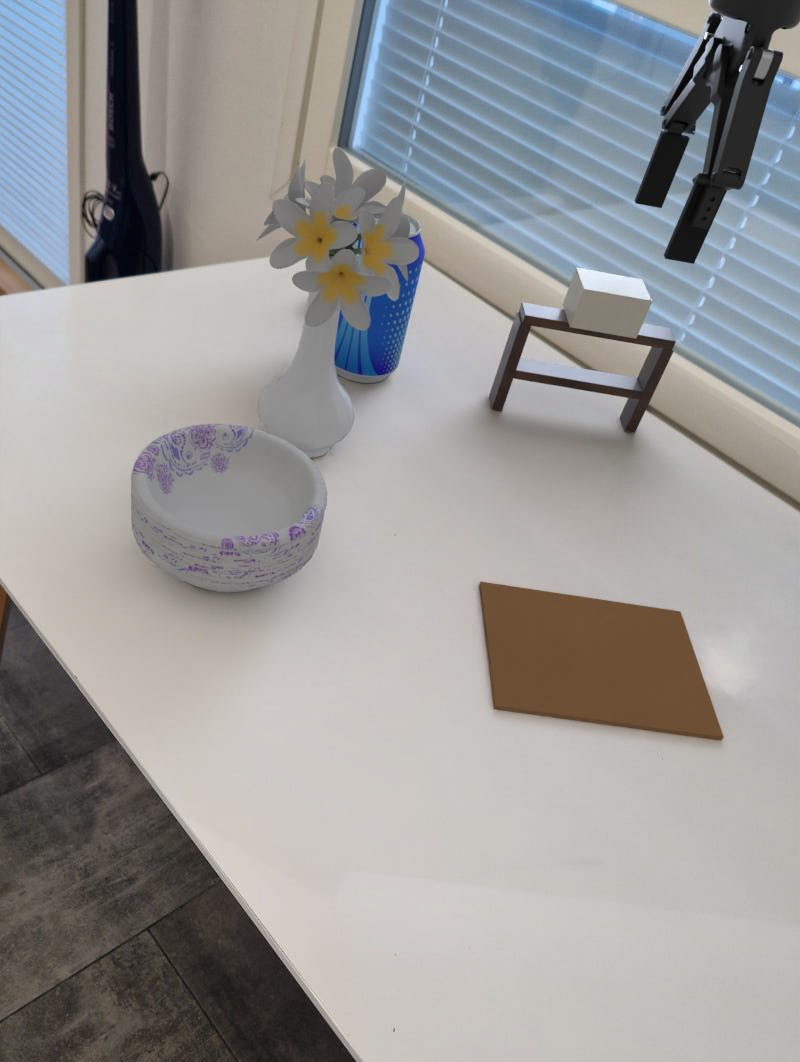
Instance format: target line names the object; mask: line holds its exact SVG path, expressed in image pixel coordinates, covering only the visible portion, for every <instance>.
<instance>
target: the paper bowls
mask: <svg viewBox="0 0 800 1062" xmlns="http://www.w3.org/2000/svg"><path fill="white" fill-rule="evenodd" d="M131 470H132V471H131V476H130V489H131V490H130V492H131V493H130V525H131V530H132V535H133V538H134V541H135V542H136V544H137V546H138V548H139V550H141V552H142V553H143V555H144V556H145V557H146V558H147V559H148V560H149V561H151V563H152V564H153V565H155V566H156V567H157V568H158V569H160V570H161V571H163V572H164V573H166V574H168V575H169V576H171V577H173V578H175V579H176V580H178V581H182V582H185V583H188V584H190V585H192V586H194V587H197V588H201V589H203V590H207V591H212V592H218V593H241V592H246V591H250V590H254V589H257V588H262V587H263V588H264V587H267V586H271V585H275V584H277V583H280V582H281V581H284V580H286V579H288V578H290V577H292V576H293V575H295V574H297V573H298V572H299V571H301V570H302V569H303V567H305V566H306V565H307V564H308V563H309V561H310V560H311V559H312V558H313V556H314V554H315V552H316V550H317V548H318V546H319V541H320V536H321V534H322V533H321V532H322V528H323V522H324V518H325V512H326V510H327V505H328V489H327V485H326V481H325V479H324V477H323V474H322V472H321V470H320V469H319V468H318V467H317V465H316V463H315V462H314V461H313V460H312V458H309V457H308V456H307V455H306V454H305V453H303V452H302V451H301V450H300V449H298V448H297V447H295V446H294V445H292V444H291V443H289V442H287V441H285V440H283V439H281V438H279V437H277V436H275V435H272V434H270V433H269V432H268V431H265V430H260V429H258V428H254V427H249V426H243V425H238V424H230V423H229V424H227V423H206V424H205V423H204V424H195V425H190V426H186V427H181V428H178V429H175V430H172V431H170V432H167V433H165V434H162V435H161V436H159V437H157V438H155V439H154V440H152V441H151V442H150V443H149V444H148V445H147V446H145V448H143V450H142V451H141V453H140V454H139V455H138V456H137V457H136V459H135V462H134V464H133V468H132V469H131Z"/></svg>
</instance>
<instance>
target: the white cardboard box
mask: <svg viewBox="0 0 800 1062" xmlns="http://www.w3.org/2000/svg"><path fill="white" fill-rule="evenodd" d="M646 286H647V285H646V284H645V283H644V280H643V279H642V278H637V277H631V276H627V275H620V274H616V273H615V274H614V273H609V272H603V271H597V270H592V269H586V268H582V267H575V269H574V272H573V275H572V278H571V281H570V283H569V285H568V288H567V291H566V294H565V297H564V299H563V301H562V302H563V303H562V307H563V308H562V309H564V311H565V314H566V317H567V320H568V323H569V326H570V327H572V328H578V329H584V330H590V331H595V332H601V333H607V334H612V335H618V336H624V337H630V338H635V339H636V338H637V336H638V333H639V331H640V329H641V327H642V324H644V322H645V320H646V318H647V316H648V312H649V311H650V308H651V306H652V304H653V299H652V297H651V295H650V293H649V290H648V289H647V287H646Z"/></svg>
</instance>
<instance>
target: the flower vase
mask: <svg viewBox="0 0 800 1062" xmlns="http://www.w3.org/2000/svg"><path fill="white" fill-rule="evenodd" d="M332 162H333V168H334V173H335V178H334V176H331V175H328V174H323V175H320V177H319V182H320V183H316V182H315V181H312V180H311V181H310V180H307V181H305V180H306V167H307V157H305V158H304V159H303V162H302V164H298V165H297V167H296V168H295V170H294V172H293V174H292V177H291V179H290V182H289V185H288V188H287V193H286V194H285V195H284V197H283V198H278V199H276V200H274V202H273V203H272V206H271V209H272V210H271V212H270V213H269V214H268V215H267V217H266V218H265V220H264V222H263V225H264V226H266V228H265V229H264V230H263V231H262V232H261V233H260V235H259V236H258V237H257V239H256V240H255V241H256V242H258V241H259V240H261V239H263V238H264V237H266V236H267V235H269V234H271V233H273V232H274V231H276V230H278V229H280V228H282V229H283V230H284V231H286V232H287V233H288V234H289V235H292V236H293V237H288V238H286V239H284V240H283V241H282V242H280V243H279V244H278V245H277V246H276V247H275V248H274V249H273V251H272V252H271V254H270V255H269V260H268V261H269V262H268V263H269V265H270V266H271V268H273V269H276V270H281V269H287V268H289V267H292V266H294V265H296V264H298V263H299V262H301V261H303V260H305V270H301V271H298V272H295V273H294V274H293V276H292V277H291V281H292V284H293V285H294V286H295V287H296V288H298V289H299V290H301V291H304V292H308V295H307V303H306V309H305V312H304V319H303V324H302V329H301V334H300V338H299V342H298V346H297V349H296V352H295V355H294V357H293V359H292V360H291V362H290V364H289V366H288V367H287V368H286V369H285V370H284V371H283V372H281V373H280V374H278V375H276V376H275V377H274V378H272V379H271V381H269V382H268V383H267V384H266V385H265V386H264V388H263V390H262V391H261V395H260V397H259V399H258V400H257V401H258V402H257V414H258V415H257V416H258V418H259V420H260V421H261V424H262V426H263V428H264V429H265V430H266V432H267V433H270V434H272V435H275V436H277V437H279V438H281V439H283V440H285V441H287V442H289V443H291V444H292V445H294V446H295V447H297V448H298V449H300V450H301V451H302V452H303V453H305V454H306V455H307V456H308V457H309V458H310V459H314V458H319V457H322V456H324V455H326V454H327V453H329V452H330V451H331V449H332V448H333V446H335V445H336V444H338V443H339V442H342V441H343V440H344V439H345V438H346V437H347V436H348V434H349V433H350V432H351V431H352V429H353V426H354V422H355V408H354V404H353V400H352V397H351V396H350V394H349V392H348V391H347V389H346V388H345V386H344V385H343V384H342V383H341V381H340V379H339V377H338V376H339V375H338V374H337V373H336V368H335V344H336V336H337V329H338V322H339V315H340V310H341V312H342V314H343V316H344V318H345V319H346V321H347V322H348V323H349V324H350V325H351V326H352V327H354V328H356V329H358V330H361V331H362V330H363V331H364V330H366V329H368V328H369V326H370V322H371V319H370V314H369V311H368V308H367V306H366V304H365V302H364V300H363V298H362V295H361V293H362V294H363V295H365V296H369V297H375V296H380V295H383V294H385V293H386V294H387V296H388V297H389V298H390V299H391V300H392V301H396V300H398V298H399V293H400V286H399V280H398V276H397V274H396V272H395V270H394V269H393V268H392V267H391V266H390V265H388V264H393V265H397V266H398V267H399V269H400V271H401V272H402V274H403V276H404V278H405V279H406V281H408V272H407V264H410V263H412V262H414V261H415V260H416V259H417V258H418V256H419V248H418V246H417V245H416V244H415V242H413V241H412V240H410V239H408V238H409V235H410V221H409V218H408V217H407V216H402V217H401V215H402V213H403V206H404V203H405V199H406V188H407V187H406V185H407V181H406V180H405V181H403V183H402V186H401V188H400V190H399V192H398V194H397V196H394V197H393V198H392V199H391V200H390V201H389V202H388V203H387V205H385V204H384V203H381V202H380V201H377V200H371V199H373V198H374V197H375V196H376V195H378V194H379V193H380V192H381V191H383V188H384V187H385V185H386V183H387V174H386V173H385V172H384V170H382V169H380V168H370V169H367V170H365V171H364V172H362V173H360V175H359V176H357V177H356V179H354V178H355V173H354V168H353V164H352V162H351V160H350V158H349V156H348V155H347V153H346V152H345V151H344V150H343V149H342V148H340V147H334V149H333V151H332ZM305 190H306V191H307V193H308V195H309V196H310V199H309V198H307V197H306V191H305ZM307 210H308V213H309V214H308V213H307ZM375 218H376V219H379V221H378V223H377V224H376V221H375ZM353 223H356V224H359V228H360V232H361V233H359V234H358V230H357V228H356V227H355V226H354V225H353ZM375 224H376V225H375ZM360 239H362V248H356V247H355V246H353V245H354V244H355V243H356V242H357V241H358V240H360ZM359 255H361V260H360V263H359V267H358V259H359ZM386 263H387V264H386ZM357 267H358V272H357ZM360 292H361V293H360Z"/></svg>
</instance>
